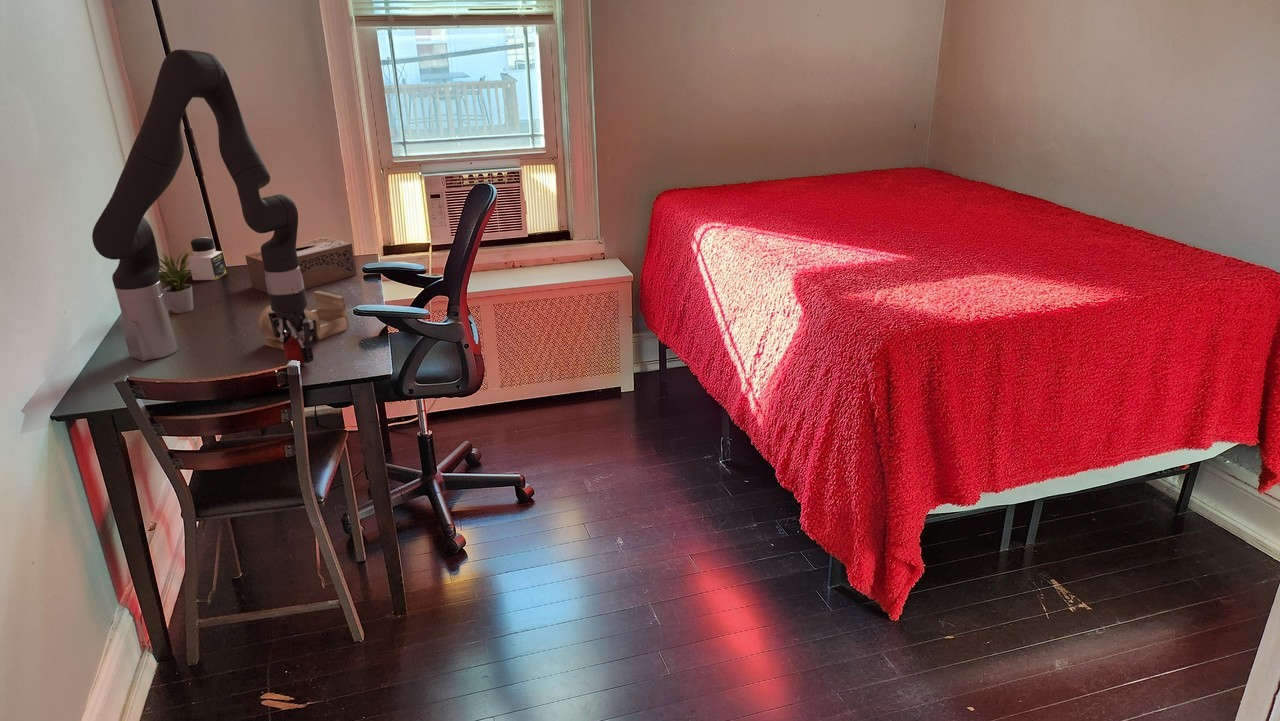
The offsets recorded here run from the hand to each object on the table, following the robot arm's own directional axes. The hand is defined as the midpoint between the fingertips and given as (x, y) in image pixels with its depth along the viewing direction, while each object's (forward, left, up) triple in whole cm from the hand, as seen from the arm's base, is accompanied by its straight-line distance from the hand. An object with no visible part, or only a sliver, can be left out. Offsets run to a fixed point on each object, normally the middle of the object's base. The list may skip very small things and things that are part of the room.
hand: (299, 358), depth 189 cm
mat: (+17, +16, -2) cm, 23 cm away
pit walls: (+17, +16, -2) cm, 23 cm away
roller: (+8, +14, -2) cm, 16 cm away
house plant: (+9, +63, -2) cm, 64 cm away
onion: (0, 0, -2) cm, 2 cm away
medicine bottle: (+30, +85, -2) cm, 90 cm away
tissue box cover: (+42, +55, -2) cm, 69 cm away
